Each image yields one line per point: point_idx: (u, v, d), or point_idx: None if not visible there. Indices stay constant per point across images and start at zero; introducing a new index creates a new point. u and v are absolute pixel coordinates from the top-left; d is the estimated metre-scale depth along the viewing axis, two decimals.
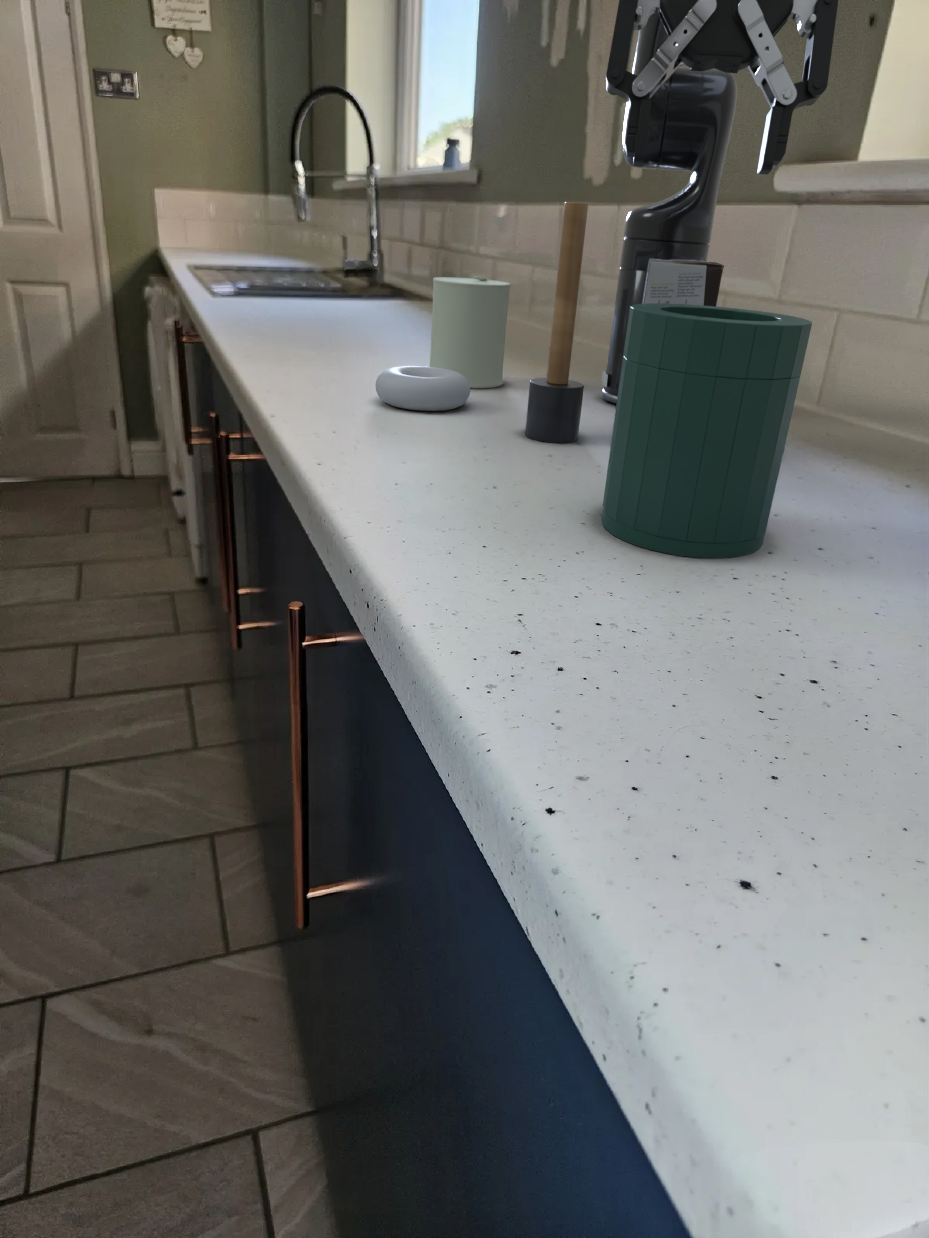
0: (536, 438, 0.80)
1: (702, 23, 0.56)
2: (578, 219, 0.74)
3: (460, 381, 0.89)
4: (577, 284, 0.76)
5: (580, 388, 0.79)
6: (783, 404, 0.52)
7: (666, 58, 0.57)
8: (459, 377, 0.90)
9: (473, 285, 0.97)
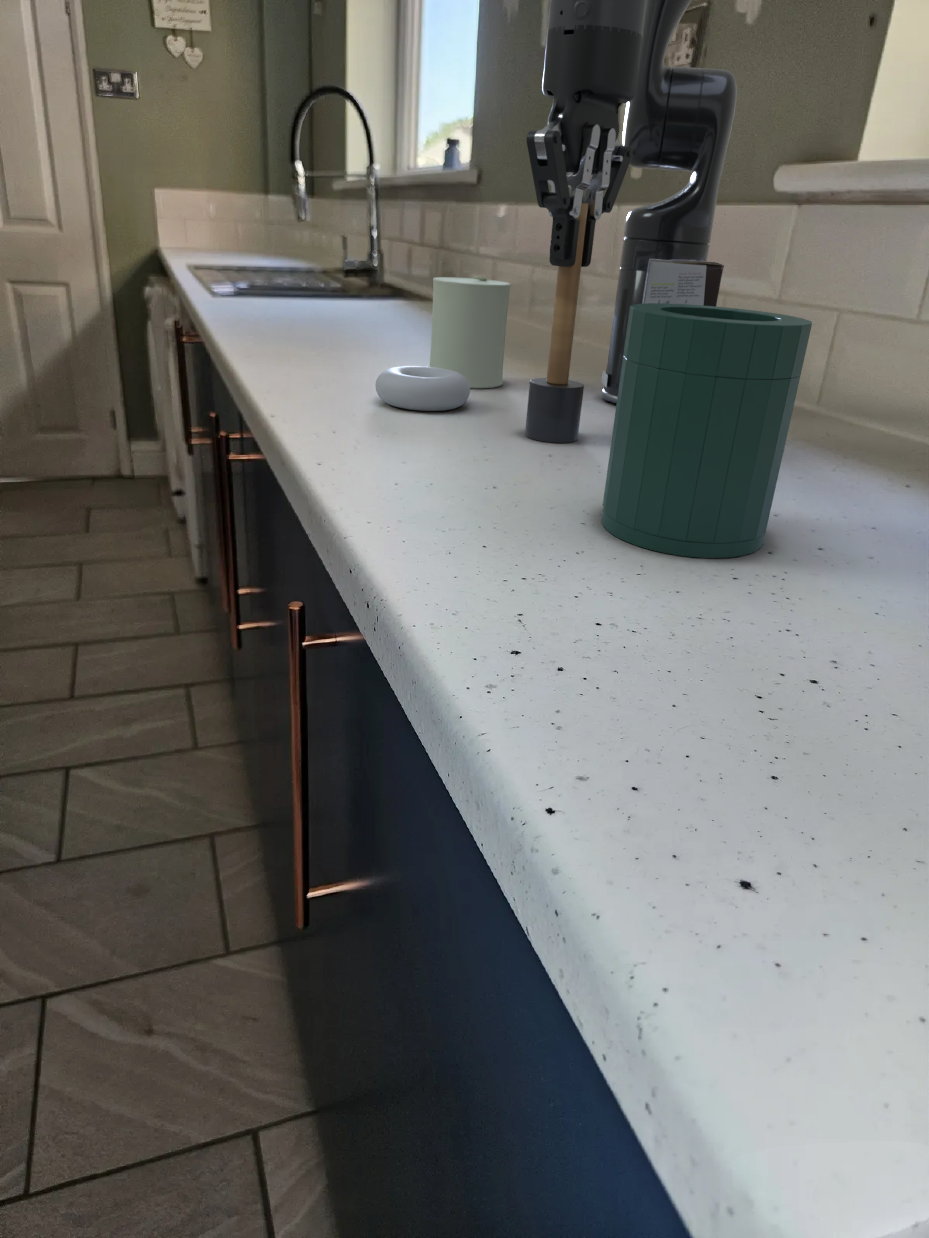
0: (536, 438, 0.80)
1: (597, 146, 0.70)
2: (578, 219, 0.74)
3: (460, 381, 0.89)
4: (577, 284, 0.76)
5: (580, 388, 0.79)
6: (783, 404, 0.52)
7: (586, 183, 0.71)
8: (459, 377, 0.90)
9: (473, 285, 0.97)
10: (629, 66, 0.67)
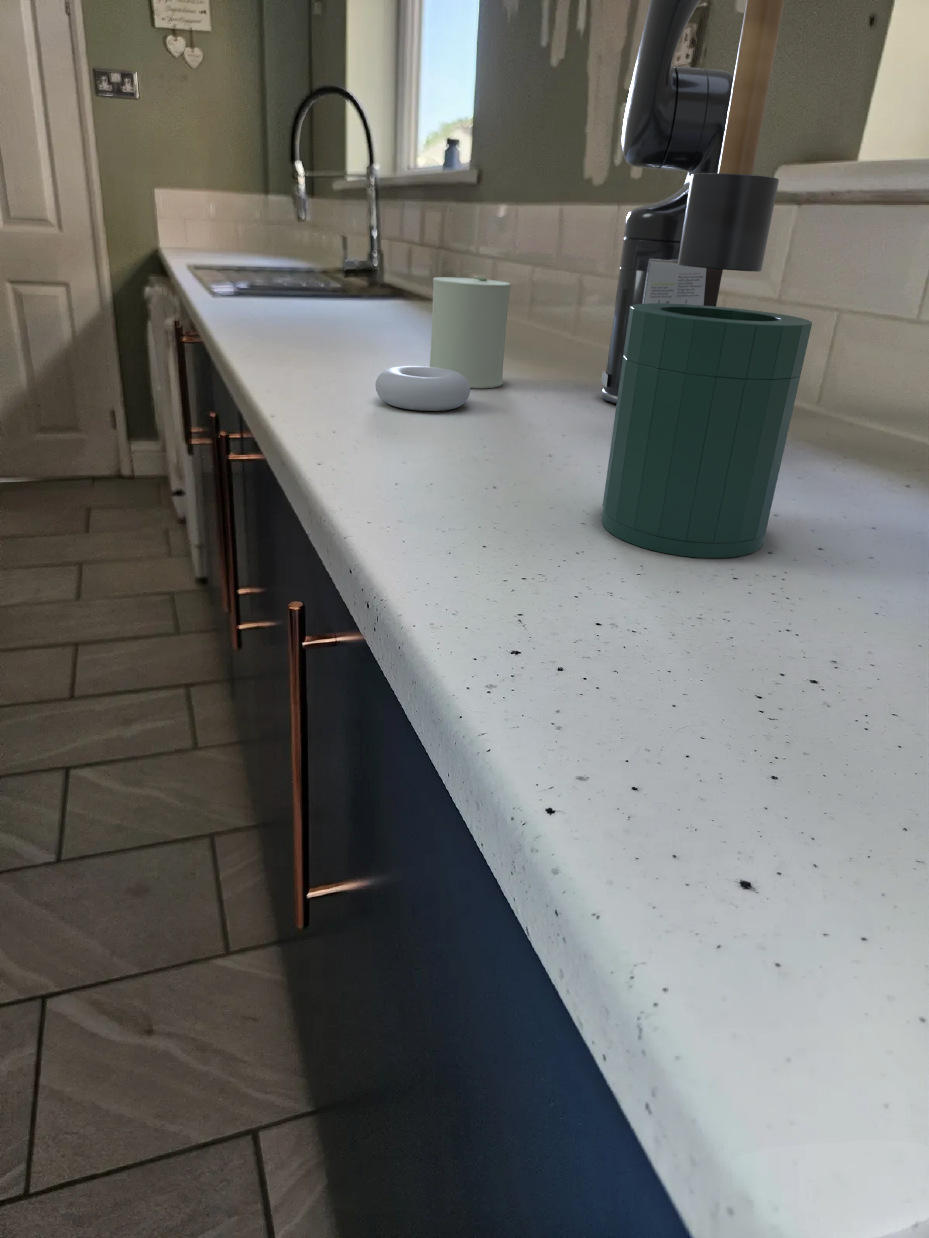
0: (701, 264, 0.51)
1: None
2: None
3: (460, 381, 0.89)
4: None
5: (776, 180, 0.50)
6: (783, 404, 0.52)
7: None
8: (459, 377, 0.90)
9: (473, 285, 0.97)
10: None
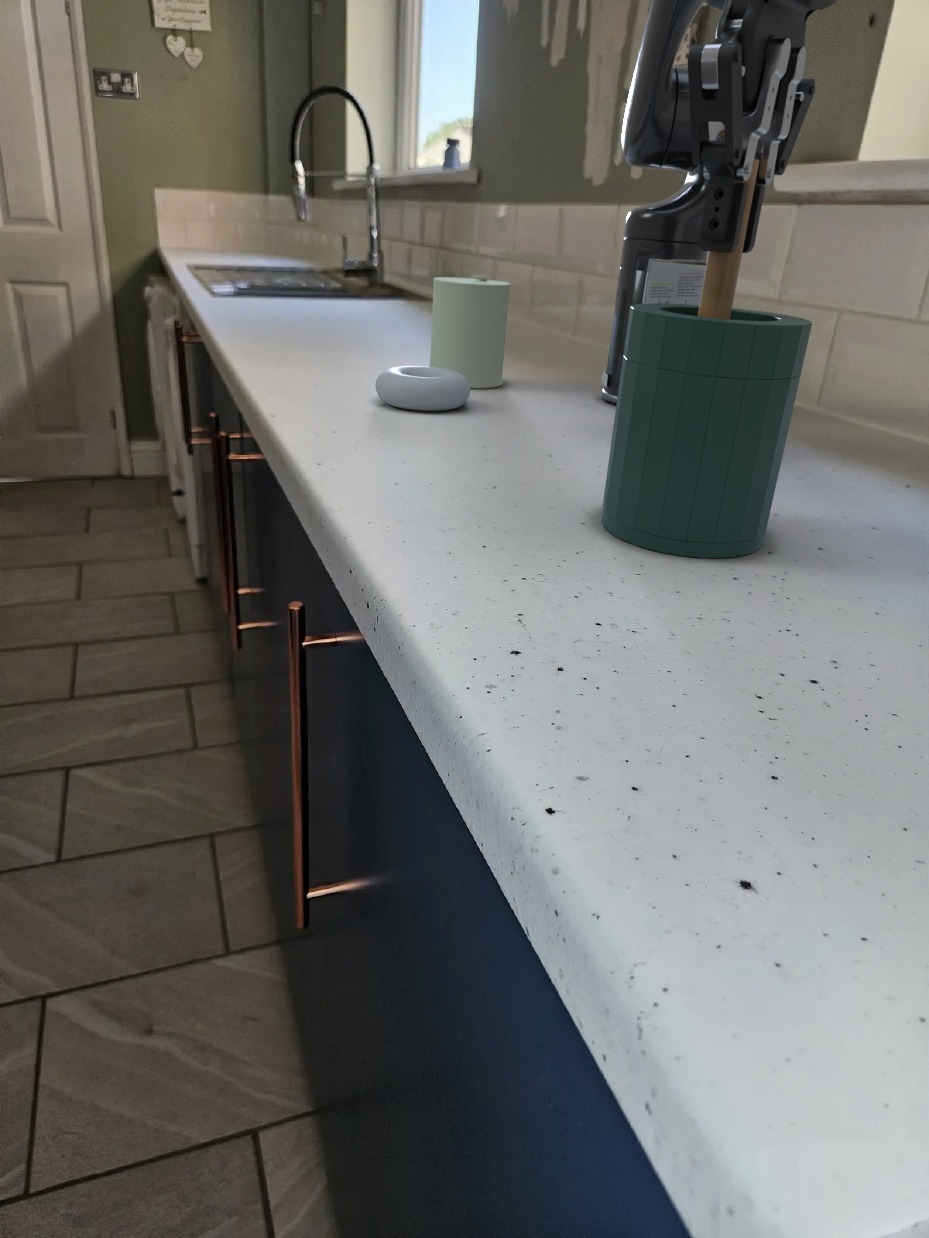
0: None
1: (784, 72, 0.47)
2: (745, 182, 0.50)
3: (460, 381, 0.89)
4: (736, 277, 0.53)
5: None
6: (783, 404, 0.52)
7: (765, 127, 0.48)
8: (459, 377, 0.90)
9: (473, 285, 0.97)
10: None
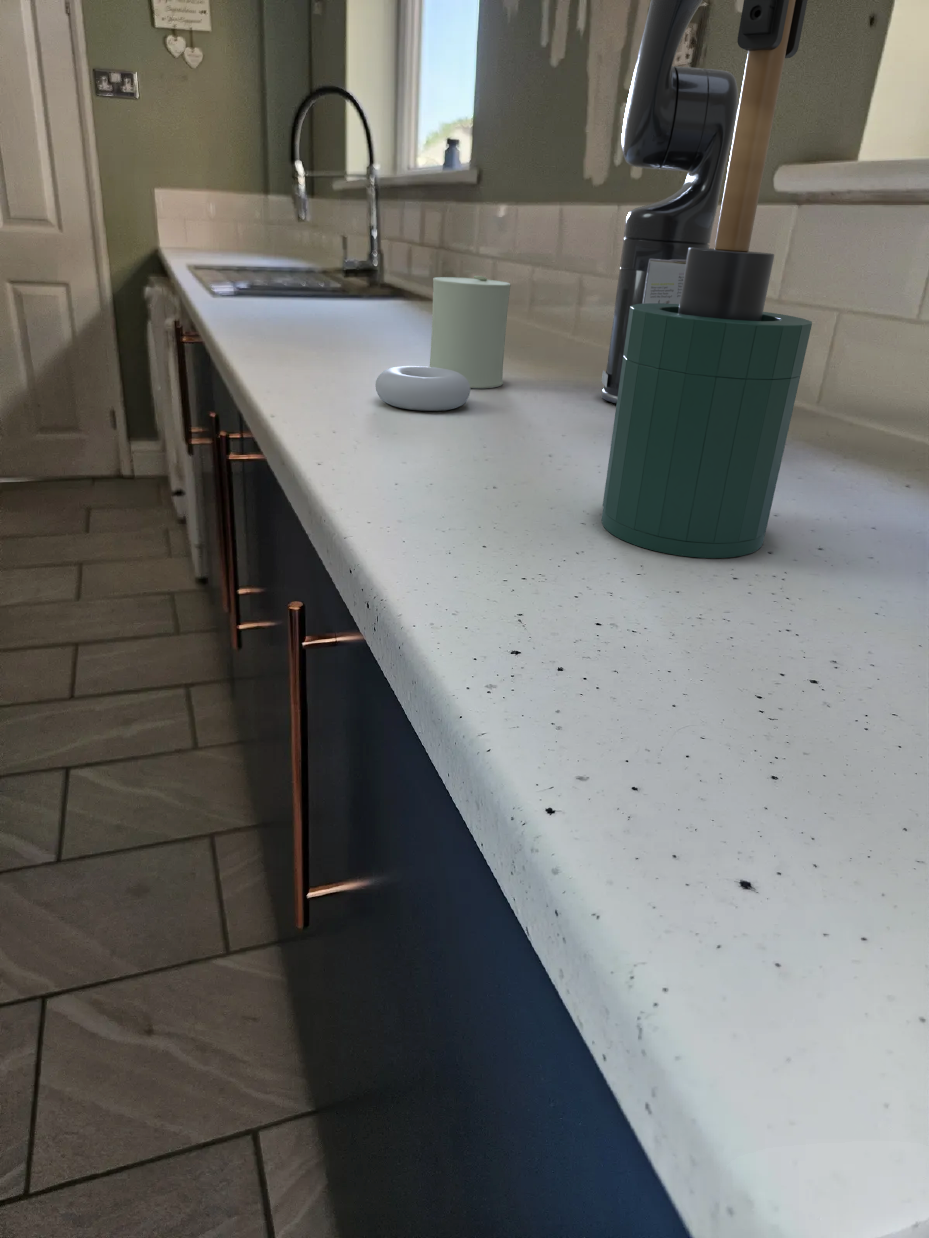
0: None
1: None
2: None
3: (460, 381, 0.89)
4: (778, 82, 0.48)
5: (771, 256, 0.51)
6: (783, 404, 0.52)
7: None
8: (459, 377, 0.90)
9: (473, 285, 0.97)
10: None
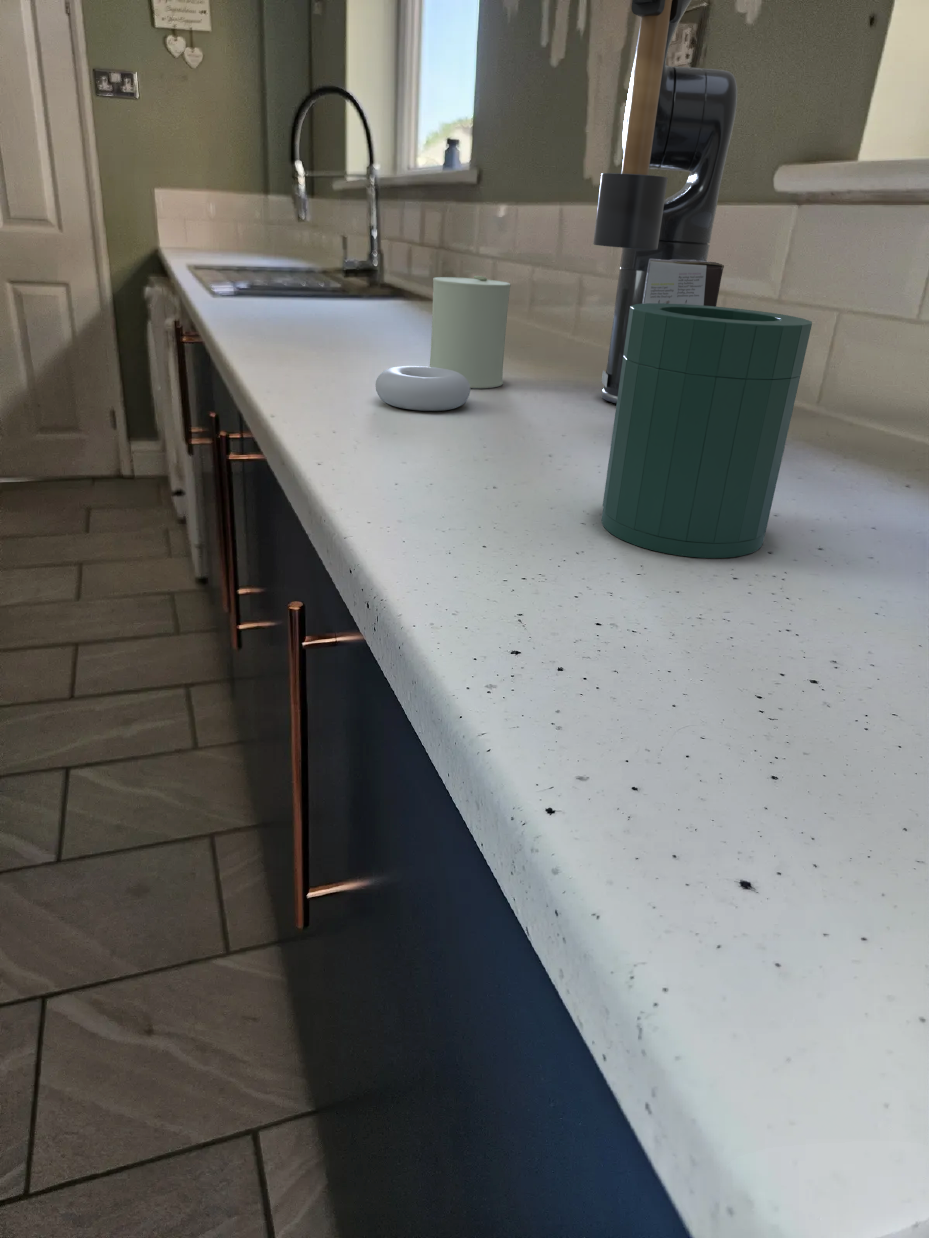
0: (609, 244, 0.66)
1: None
2: None
3: (460, 381, 0.89)
4: (664, 40, 0.62)
5: (664, 178, 0.65)
6: (783, 404, 0.52)
7: None
8: (459, 377, 0.90)
9: (473, 285, 0.97)
10: None
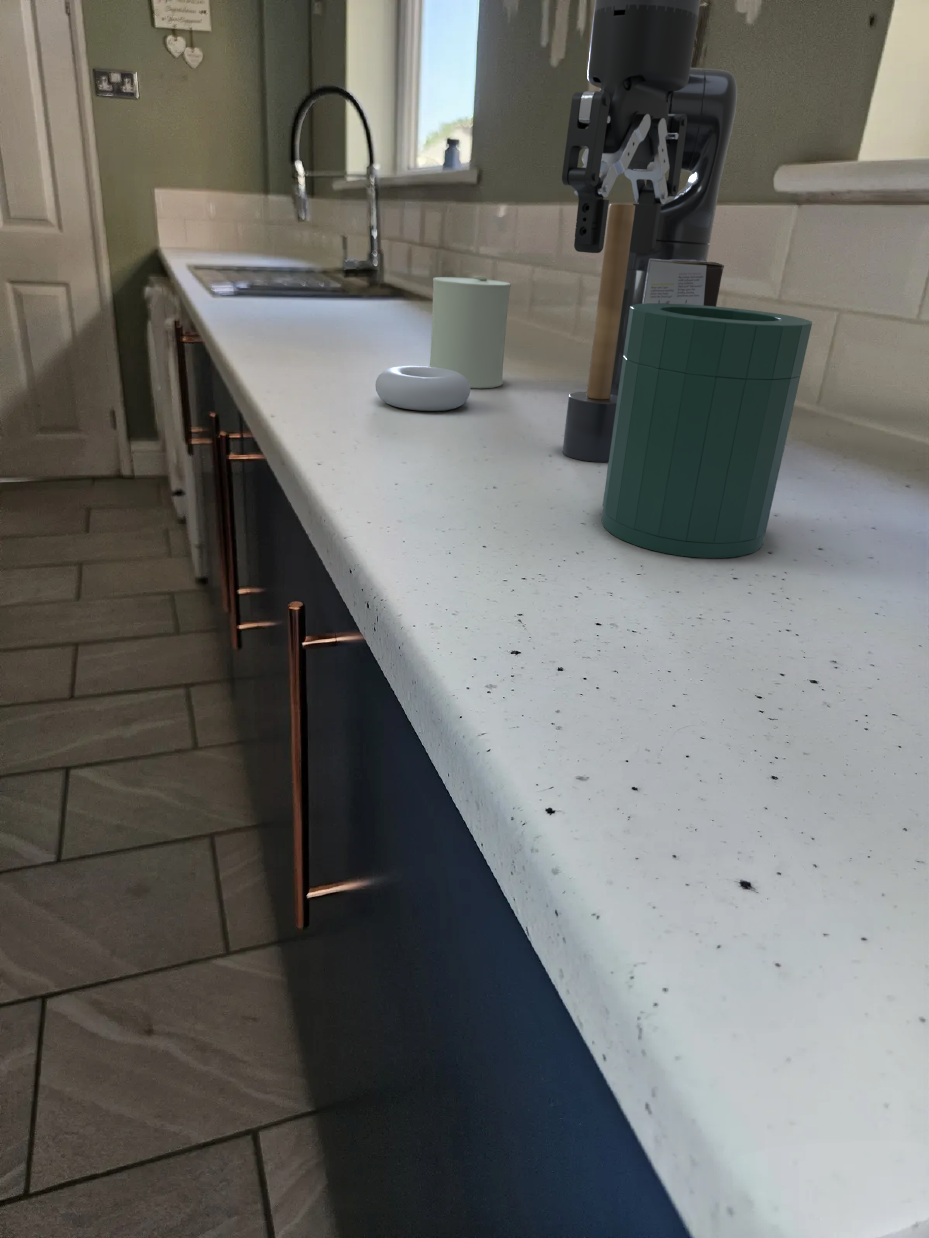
0: (575, 457, 0.75)
1: (643, 138, 0.64)
2: (625, 222, 0.68)
3: (460, 381, 0.89)
4: (622, 292, 0.71)
5: None
6: (783, 404, 0.52)
7: (623, 166, 0.64)
8: (459, 377, 0.90)
9: (473, 285, 0.97)
10: (684, 50, 0.62)
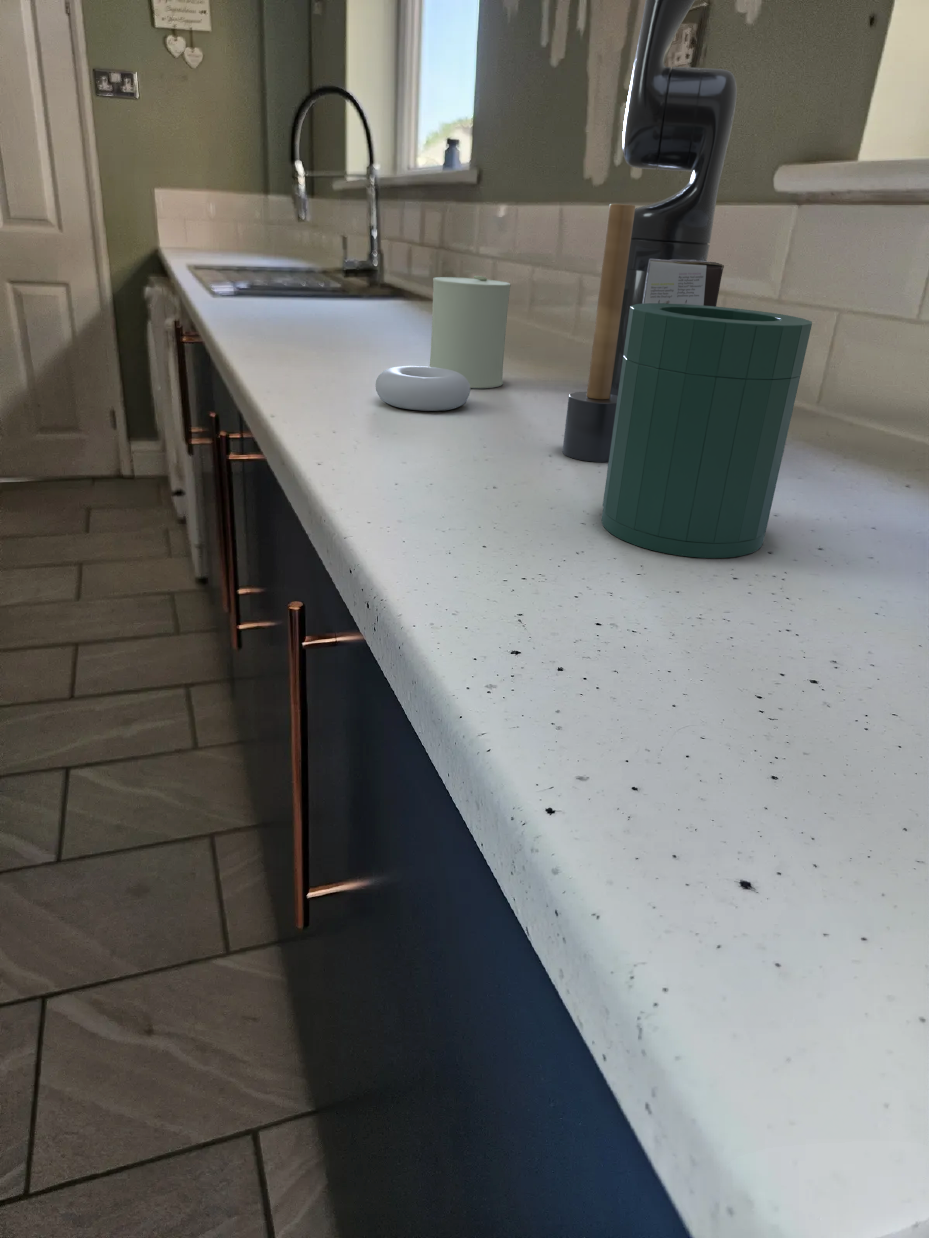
0: (575, 457, 0.75)
1: None
2: (625, 222, 0.68)
3: (460, 381, 0.89)
4: (622, 292, 0.71)
5: None
6: (783, 404, 0.52)
7: None
8: (459, 377, 0.90)
9: (473, 285, 0.97)
10: None
